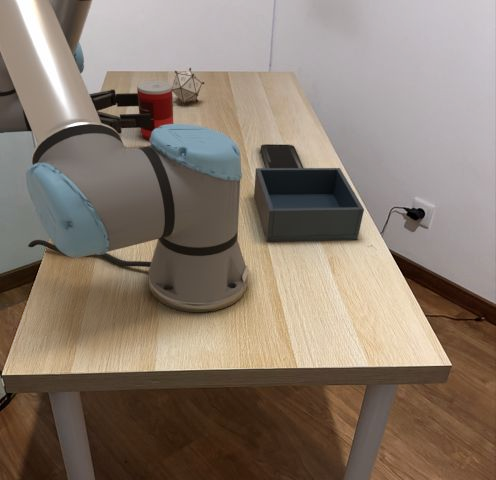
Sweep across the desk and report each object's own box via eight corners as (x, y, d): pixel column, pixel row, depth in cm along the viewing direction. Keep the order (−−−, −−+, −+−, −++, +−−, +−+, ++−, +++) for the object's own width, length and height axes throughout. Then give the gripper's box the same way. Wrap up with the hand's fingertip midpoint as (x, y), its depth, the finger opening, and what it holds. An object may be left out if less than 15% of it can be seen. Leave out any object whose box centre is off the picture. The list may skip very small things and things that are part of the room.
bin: (266, 241, 94) (269, 210, 90) (253, 197, 106) (255, 168, 102) (357, 239, 96) (364, 209, 92) (334, 196, 108) (339, 167, 104)
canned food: (176, 130, 129) (175, 81, 122) (170, 143, 124) (167, 92, 116) (145, 127, 130) (142, 78, 122) (137, 140, 124) (133, 89, 116)
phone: (293, 144, 124) (305, 172, 113) (293, 149, 124) (305, 177, 113) (259, 144, 123) (268, 172, 112) (259, 149, 123) (268, 177, 113)
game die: (181, 117, 146) (156, 87, 139) (191, 97, 150) (168, 66, 143) (205, 107, 140) (181, 74, 134) (215, 86, 144) (192, 53, 137)
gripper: (54, 110, 129) (143, 107, 134) (52, 152, 112) (154, 147, 116) (48, 76, 124) (140, 75, 129) (44, 114, 107) (152, 111, 111)
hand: (147, 109), depth 122 cm, fingers open, 13 cm apart
